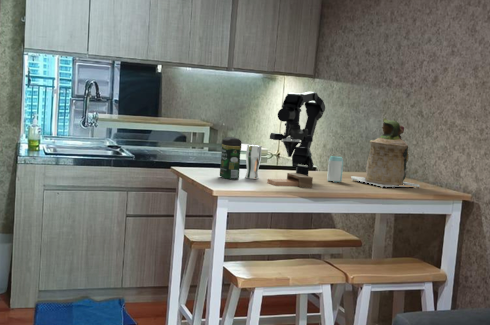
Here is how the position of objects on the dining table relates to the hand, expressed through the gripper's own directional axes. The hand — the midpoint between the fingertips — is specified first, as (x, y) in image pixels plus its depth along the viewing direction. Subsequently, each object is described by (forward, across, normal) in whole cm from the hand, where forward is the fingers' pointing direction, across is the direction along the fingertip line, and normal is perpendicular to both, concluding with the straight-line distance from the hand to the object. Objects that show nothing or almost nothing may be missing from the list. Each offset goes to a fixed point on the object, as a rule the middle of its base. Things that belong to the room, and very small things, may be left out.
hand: (289, 156), depth 297 cm
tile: (+13, -2, -2) cm, 13 cm away
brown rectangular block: (+12, +4, -4) cm, 13 cm away
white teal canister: (+12, +30, +11) cm, 34 cm away
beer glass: (+12, -11, +15) cm, 22 cm away
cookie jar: (+12, +55, +6) cm, 57 cm away
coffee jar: (+12, -23, +13) cm, 29 cm away
